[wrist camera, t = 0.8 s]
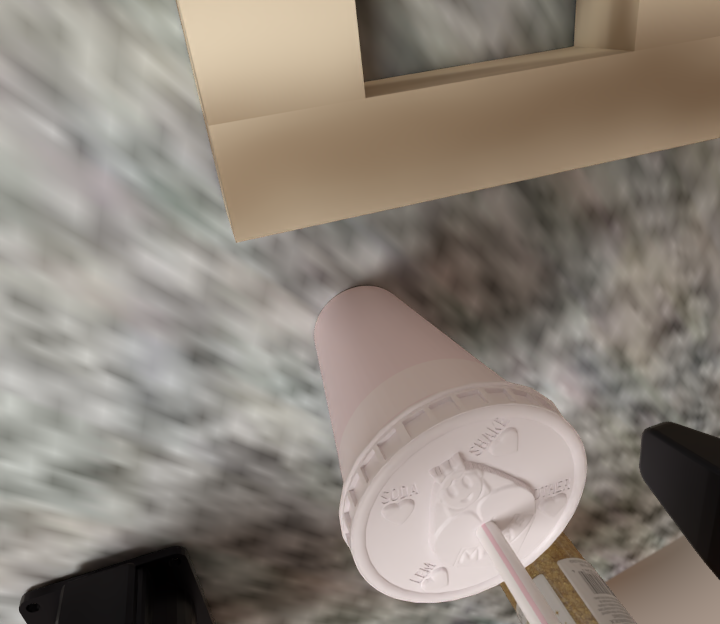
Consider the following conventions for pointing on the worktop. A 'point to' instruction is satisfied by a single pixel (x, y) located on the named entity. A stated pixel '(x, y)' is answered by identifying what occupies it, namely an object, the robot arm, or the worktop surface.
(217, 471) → the worktop surface
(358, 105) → the slot board
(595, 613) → the sprinkles bottle
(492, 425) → the smoothie
